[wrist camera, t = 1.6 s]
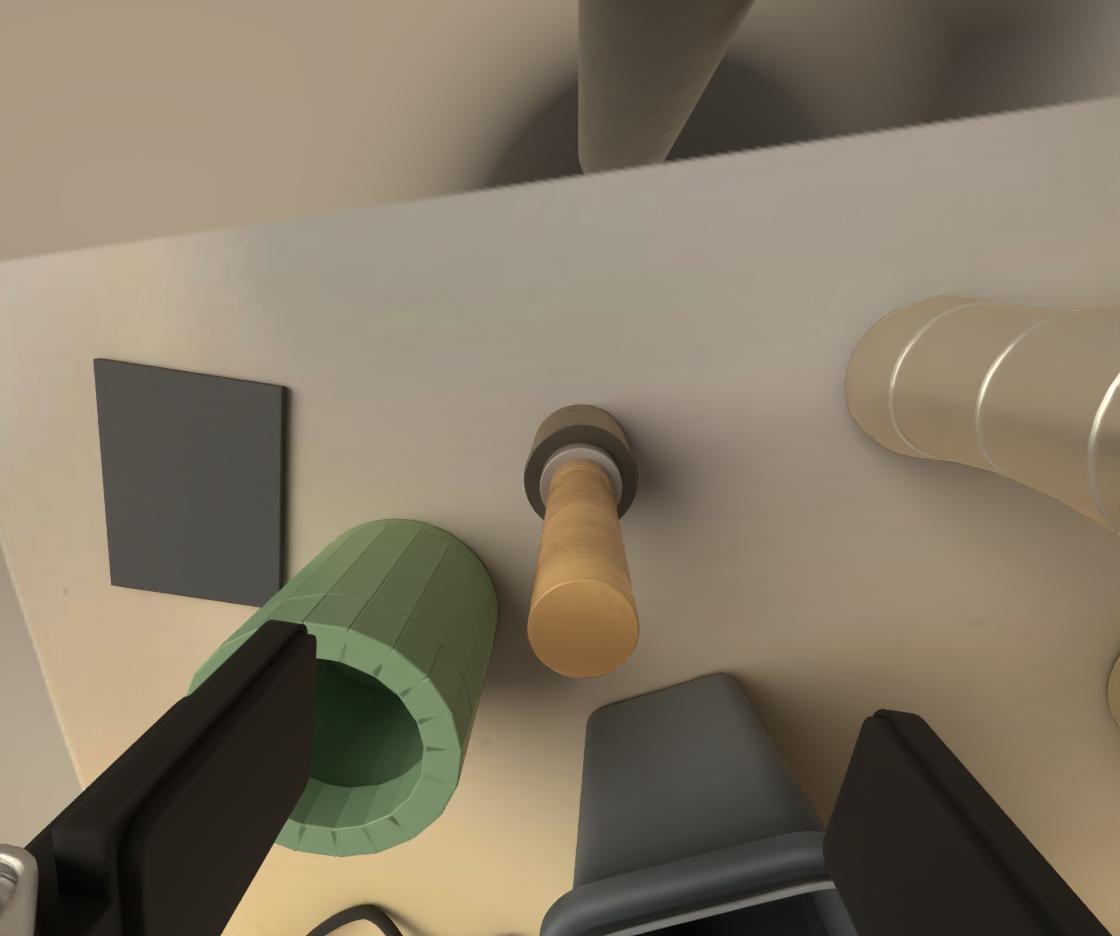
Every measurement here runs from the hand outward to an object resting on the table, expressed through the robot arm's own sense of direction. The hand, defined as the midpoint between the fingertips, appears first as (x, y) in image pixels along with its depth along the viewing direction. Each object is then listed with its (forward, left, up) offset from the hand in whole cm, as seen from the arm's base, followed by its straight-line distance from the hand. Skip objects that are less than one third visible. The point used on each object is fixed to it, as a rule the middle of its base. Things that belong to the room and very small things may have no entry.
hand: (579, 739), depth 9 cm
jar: (+10, -8, -19) cm, 23 cm away
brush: (0, 0, -19) cm, 19 cm away
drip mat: (+5, -19, -19) cm, 27 cm away
